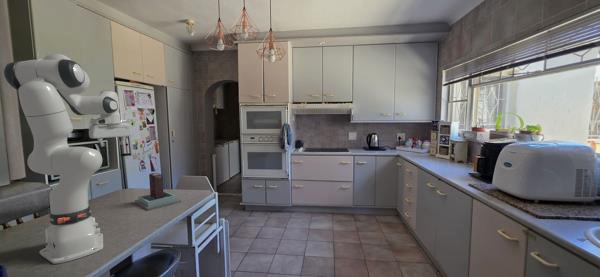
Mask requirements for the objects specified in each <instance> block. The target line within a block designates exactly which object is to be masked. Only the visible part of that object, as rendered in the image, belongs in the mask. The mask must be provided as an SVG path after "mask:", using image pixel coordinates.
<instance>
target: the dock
mask: <svg viewBox="0 0 600 277" xmlns="http://www.w3.org/2000/svg"><path fill="white" fill-rule="evenodd" d="M163 193H164V198H161V199H157V200H151V197H150V194H146V195H141V196H138V199H134V201H133V202H134V203H135V204H137V205H138V206H140V207H141V208H143V209H144V210H146V211H152V210H156V209H159V208H163V207H164V208H165V207H167V206H172V205H176V204H178V203H179V204H180V203H182V200H181V199H180V198H177V195H176V194H174V193H171V192H169V191H166V190H165V191H164V190H163Z"/></svg>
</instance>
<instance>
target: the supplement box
mask: <svg viewBox="0 0 600 277" xmlns="http://www.w3.org/2000/svg"><path fill="white" fill-rule="evenodd" d="M148 176H149V193H150V194H149V195H150V197H151V200H157V199H161V198H164V193H163V192H164V178H163V176H164V175H163V174H161V173H158V172H154V173H149V174H148Z"/></svg>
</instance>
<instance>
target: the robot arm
mask: <svg viewBox="0 0 600 277" xmlns="http://www.w3.org/2000/svg"><path fill="white" fill-rule="evenodd" d="M3 76H4V79H5V81H6V82H7V84H9V86H11V87H12V88H14V89H15V90H17V92H18V97H19V98H18V99H19V102H20V106H21V109H22V111H23V112H22V113H24V116H25V119H26V121H27V123H28V127H29V129H30V132H31V134H32V138H33V150H32V152H31V153H30V154H29V155H28V157H27V161H26V162H27V166H28V169H30V170H31V171H32V172H33V173H37V174H41V175H45V176H46V175H47V176H59V182H58V184H57V185H56V187H54V188H53V189H52V190H51V191H50V192H49V195H48V196H49V207H50V213H49V217H48V218H49V223H50V225H49V226H48V227H47V228H46V229H45V230H44V231H45V232H44V234H45V248H42V249H41V250H39V255H41V257H43V258H44V259H46V260H48V261H49V262H50V263H52V264H53V265H54V264H63V263H67V262H70V261H74V260H77V259H80V258H84V257H87V256H89V255H92V254H95V253H97V252H99V251H101V250H103V249H104V234H103V233H101V227H98V226H99V224H98V222H96V218H95V217H93V216H92V210H91V206H90V205H89V193H88V192H89V184H90V181H91V179H92V177H93V176H94V174H95V173H96V172H98V171H99V170H100V168H101V167H102V165H103V157H102V156H103V155H102V154H101V152H100V151H99V150H97V149H94V148H90V147H87V146H69V144H68V136H69V135H71V133H73V130H74V126H73V123H72V120H71V118H70V115H69V113H68V109H67V107H66V105H68V107H69V109H70V111H72V113H74V114H75V115H77V116H87V115H91V116H92V115H98V116H99V115H100V117H98V118H94V119H91V120H90V121H89V124H90V125H89V128H88V137H89V138H90V139H97V141H98V142H99V144H100V147H106V142H103V140H104V139H105V138H108V139H109V138H120V141H119V142H118V143H119V146H121V145H124V144H125V140H126V137H131V136H132V135H133V130H132V124H131V121H129V120H121V114H120V99H119V96H118V93H117V92H115V91H112V90H101V91H100V92H99V94H98V95H79V94H82V93H84V92H86V90H87V89H88V88H89V87H90V83H91V79H90V76H89V75H88V73H87V72H86V71H85V70H84V69H83V67H82V66H81V65H80V64H79V63H78V62H76V61H75V60H72V59H71V58H70V57H68V56H66V55H64V54H62V53H49V54H48V55H46V56H44V57H43V58H38V59H29V60H16V61H12V62H8V63H7V64H6V65H5V66H4V69H3ZM63 100H64V101H63ZM64 102H65V103H66V105H65V103H64ZM96 227H97V228H96Z"/></svg>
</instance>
